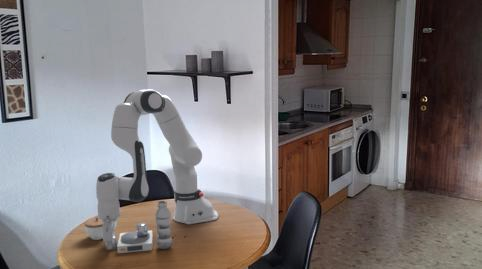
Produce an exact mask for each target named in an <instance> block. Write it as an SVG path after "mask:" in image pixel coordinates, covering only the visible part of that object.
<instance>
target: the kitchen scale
mask: <svg viewBox="0 0 482 269" xmlns="http://www.w3.org/2000/svg"><path fill="white" fill-rule="evenodd" d="M153 241H154V240H153V230H148V236H147V237H145V238H138V237H137V230H133V231H129V232H120V233H119V237H118V240H117V249H116V250H117V254H123V253H124V254H125V253H132V252H133V253H134V252H135V253H136V252H145V251H152V250H153V243H154V242H153Z"/></svg>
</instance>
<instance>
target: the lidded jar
mask: <svg viewBox="0 0 482 269" xmlns="http://www.w3.org/2000/svg"><path fill="white" fill-rule="evenodd" d="M84 228H85V233H86V234H87V236H88V237H89V238H90V239H91V240H93V241H99V240H103V222H102V220H101V219H99V218H98V216H96V217H91V218H88V219H87V220H85V222H84Z"/></svg>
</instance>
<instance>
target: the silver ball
mask: <svg viewBox="0 0 482 269" xmlns="http://www.w3.org/2000/svg"><path fill="white" fill-rule="evenodd" d="M135 229H136V230H135V231H137V237H138V238H145V237H147V236H148V231H149V224H148V223H147V222H139V223H137V224H136V226H135Z"/></svg>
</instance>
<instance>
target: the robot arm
mask: <svg viewBox="0 0 482 269" xmlns="http://www.w3.org/2000/svg"><path fill="white" fill-rule="evenodd" d="M149 114H152V115H153V116H154V118H155V120H156V122H157V124H158V126H159V128H160V130H161V132H162V135H163V137H164V138H165V140H166V141H167V142H168V144H169V146H168V153H169V155H170V159H171V166H172V170H173V176H174V192H173V196H174V203H175V205H174V212H173V217H172V219H173V220H174V221H175V222H178V223H183V224H186V225H193V224H198V223H204V222H211V221H216V220H218V218H219V213H218V212H217V210H215V209H214V206H213V204H212V201H209V200H208V199H207V198H205V197H204V193H203V191H202V190H201V189H200V188H199V189H198V174H197V171H196V168H195V167H196V166H198V165H199V164H200V163H201V162H202V159H203V153H202V150H201V149H200V147H199V146H198V145H197V143H196V141H195V140H194V138H193V136H192V135H191V133H190V131H189V129H187V127H186V125H185V123H184V121H183V119H182V117H181V114H180V112H179V110H178V109H177V107H176V105H175V103H174V102H173V100H172V99H171V98H170V97H169V96H168V95H165V94H163V95H162V94H161V93H160V92H159V91H157V90H154V89H150V88H149V89H140V90H137V91H135V92H134V91H133V92H131V93H129V94H128V95H127V96H125V98H124V101H123V102H122V103H119V104H117V105H116V106H115V108H114V112H113V114H112V115H113V116H112V122H111V130H110V136H111V137H110V138H111V141H112V143H113V144H114V145H115V146H116V147H118V148H119V149H121V150H123V151H125V152H126V153H128V155H130V157H131V160H132V168H133V170H132V171H133V177H126V176H118V175H116V173H113V172H106V173H102V174H100V175H99V176H98V177H97V178H96V184H95V185H96V186H95V187H96V190H95V191H96V198H97V217H98V218H99V219H101V220H102V222H103V239H102V241H103V242H104V243H105V242H107V246H108V249H112V241H113V237H114V235H116V234H115V233H116V229H117V224H118V218H120V217H121V208H120V201H119V200H123V201H124V200H125V201H131V202H136V203H140V202H143V201H144V200H145V199H146V198H147V197H148V195H149V193H150V188H149V186H150V185H149V182H148V178H147V167H146V166H147V164H146V155H145V154H146V153H145V147H144V143H143V142H142V141H141V140H140V138H139V133H138V130H139V129H138V128H139V126H138V125H139V119H140V118H141V116H145V115H146V116H147V115H149Z"/></svg>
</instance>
